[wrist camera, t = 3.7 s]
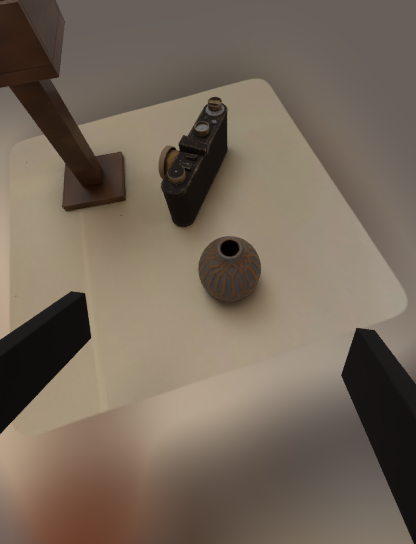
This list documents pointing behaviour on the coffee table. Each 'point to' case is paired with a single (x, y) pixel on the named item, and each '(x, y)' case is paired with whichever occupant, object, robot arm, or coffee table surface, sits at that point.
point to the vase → (229, 268)
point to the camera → (194, 163)
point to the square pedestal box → (53, 100)
